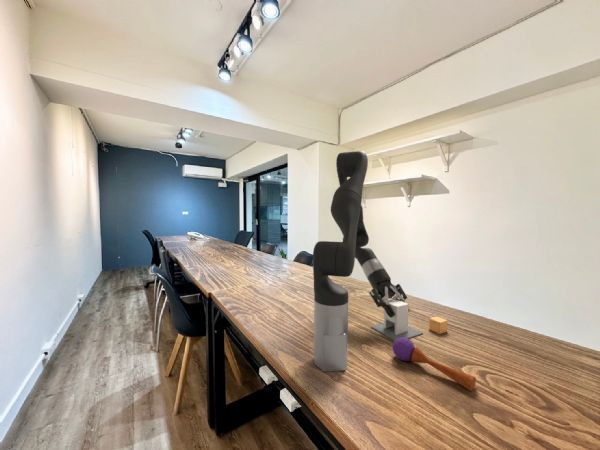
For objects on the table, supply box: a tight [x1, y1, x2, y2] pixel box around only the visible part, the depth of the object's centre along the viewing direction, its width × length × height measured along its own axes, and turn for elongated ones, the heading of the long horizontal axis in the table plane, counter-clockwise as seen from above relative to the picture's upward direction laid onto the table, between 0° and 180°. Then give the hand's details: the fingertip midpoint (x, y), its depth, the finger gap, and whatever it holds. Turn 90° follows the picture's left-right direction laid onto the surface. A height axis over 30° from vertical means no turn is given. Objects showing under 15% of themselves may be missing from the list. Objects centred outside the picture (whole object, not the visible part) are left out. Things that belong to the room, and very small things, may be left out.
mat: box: [370, 322, 423, 341], centre depth 90 cm, size 12×12×1 cm
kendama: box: [392, 338, 477, 392], centre depth 67 cm, size 6×6×20 cm
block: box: [428, 316, 448, 335], centre depth 90 cm, size 4×4×4 cm
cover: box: [383, 299, 410, 335], centre depth 90 cm, size 6×6×10 cm
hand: (400, 314), depth 88 cm, fingers open, 6 cm apart
